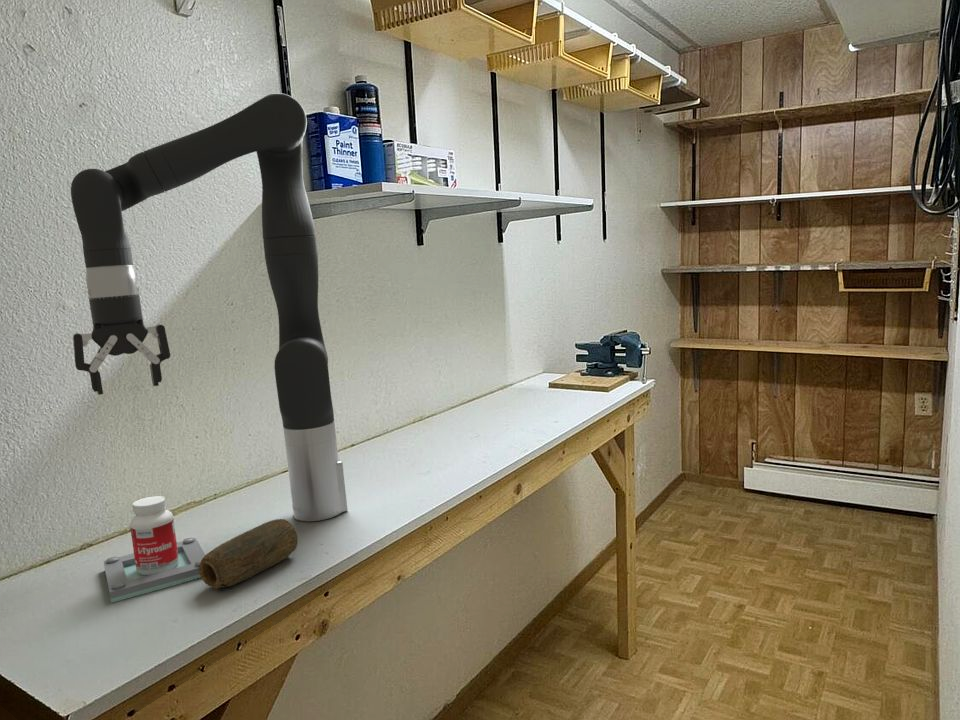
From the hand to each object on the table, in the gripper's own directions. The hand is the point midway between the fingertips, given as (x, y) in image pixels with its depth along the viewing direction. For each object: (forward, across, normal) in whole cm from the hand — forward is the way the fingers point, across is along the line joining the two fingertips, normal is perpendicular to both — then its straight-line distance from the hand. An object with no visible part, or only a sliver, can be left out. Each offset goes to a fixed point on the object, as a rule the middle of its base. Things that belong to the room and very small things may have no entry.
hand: (128, 389), depth 120 cm
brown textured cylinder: (+28, -11, +25) cm, 39 cm away
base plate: (+28, +1, +14) cm, 31 cm away
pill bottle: (+27, +1, +14) cm, 31 cm away
